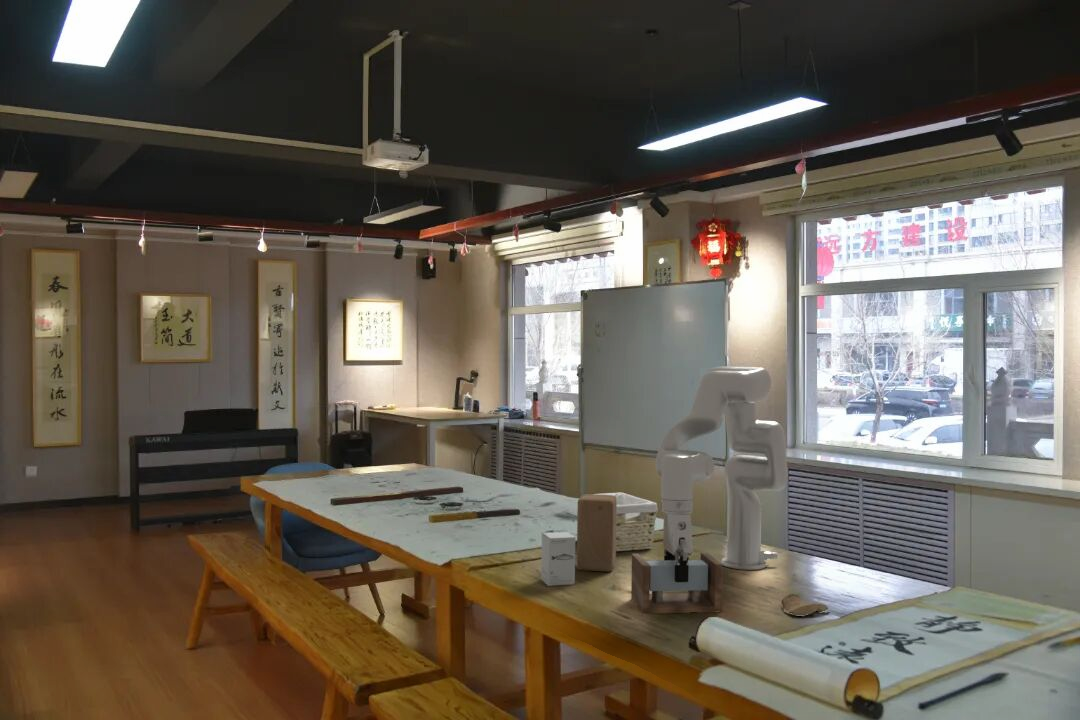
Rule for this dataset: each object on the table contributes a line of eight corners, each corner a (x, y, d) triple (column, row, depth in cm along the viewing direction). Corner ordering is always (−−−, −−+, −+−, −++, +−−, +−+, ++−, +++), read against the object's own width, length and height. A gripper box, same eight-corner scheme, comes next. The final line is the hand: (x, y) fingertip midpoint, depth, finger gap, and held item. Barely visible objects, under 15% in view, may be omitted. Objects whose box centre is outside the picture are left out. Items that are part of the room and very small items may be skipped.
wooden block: (612, 572, 239) (612, 500, 239) (576, 570, 241) (577, 498, 241) (616, 564, 249) (617, 494, 249) (581, 562, 251) (582, 493, 251)
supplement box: (548, 586, 224) (548, 538, 224) (540, 579, 231) (541, 532, 231) (575, 585, 226) (576, 536, 226) (567, 577, 233) (567, 531, 233)
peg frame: (706, 597, 216) (706, 552, 216) (721, 611, 204) (722, 564, 204) (631, 599, 214) (631, 553, 214) (642, 613, 202) (642, 565, 202)
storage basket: (578, 538, 284) (578, 493, 284) (621, 535, 290) (622, 491, 290) (612, 554, 262) (613, 505, 262) (659, 550, 268) (659, 502, 268)
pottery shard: (831, 619, 204) (802, 599, 213) (834, 603, 203) (805, 583, 212) (796, 628, 200) (768, 606, 208) (799, 611, 199) (770, 590, 207)
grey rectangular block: (701, 584, 212) (701, 560, 212) (707, 590, 207) (708, 565, 207) (645, 585, 211) (645, 560, 211) (650, 591, 206) (650, 565, 206)
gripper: (702, 512, 200) (701, 586, 201) (682, 499, 218) (681, 567, 218) (670, 512, 200) (669, 586, 200) (652, 499, 217) (652, 568, 217)
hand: (675, 576), depth 209 cm, fingers open, 9 cm apart
